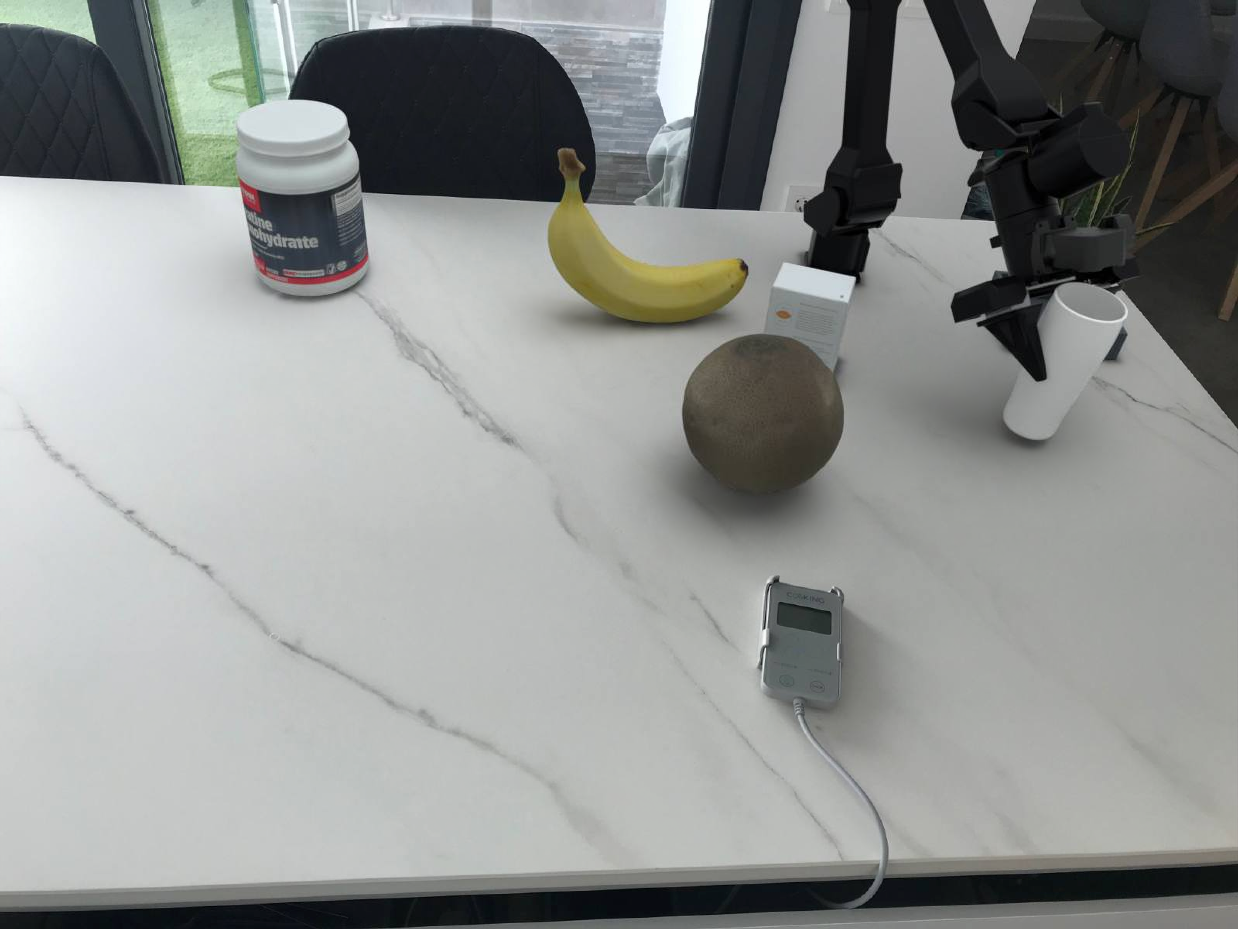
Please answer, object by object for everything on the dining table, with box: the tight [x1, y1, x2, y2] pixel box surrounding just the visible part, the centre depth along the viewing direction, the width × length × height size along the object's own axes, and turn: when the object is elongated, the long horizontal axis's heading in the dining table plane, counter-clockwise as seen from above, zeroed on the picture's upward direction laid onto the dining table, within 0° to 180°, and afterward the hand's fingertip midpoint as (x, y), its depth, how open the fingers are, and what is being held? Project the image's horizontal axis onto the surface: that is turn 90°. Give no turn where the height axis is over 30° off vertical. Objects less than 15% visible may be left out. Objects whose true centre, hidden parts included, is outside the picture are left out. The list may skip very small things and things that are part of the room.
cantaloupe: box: [681, 333, 845, 494], centre depth 87 cm, size 14×14×15 cm
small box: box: [763, 261, 856, 374], centre depth 103 cm, size 8×6×10 cm
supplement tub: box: [235, 99, 370, 297], centre depth 109 cm, size 13×13×18 cm
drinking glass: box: [1002, 282, 1129, 441], centre depth 94 cm, size 7×7×15 cm
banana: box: [547, 147, 750, 324], centre depth 106 cm, size 23×6×20 cm, turn 97°
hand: (1067, 373), depth 93 cm, fingers closed on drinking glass, 6 cm apart
